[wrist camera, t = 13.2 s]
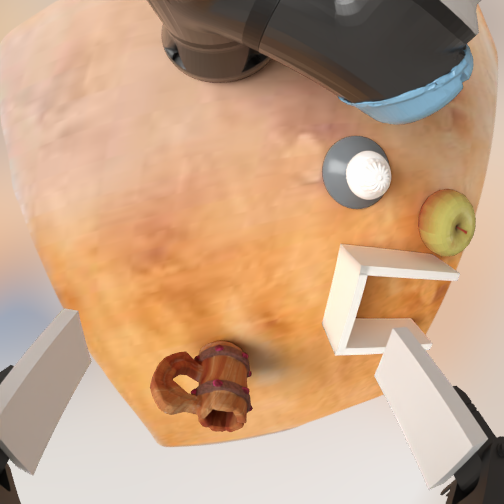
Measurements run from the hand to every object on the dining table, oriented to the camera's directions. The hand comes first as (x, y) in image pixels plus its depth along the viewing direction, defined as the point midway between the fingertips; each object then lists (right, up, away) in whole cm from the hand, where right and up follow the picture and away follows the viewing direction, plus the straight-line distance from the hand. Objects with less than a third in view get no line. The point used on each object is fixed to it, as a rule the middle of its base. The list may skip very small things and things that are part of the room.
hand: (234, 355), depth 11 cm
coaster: (+15, +15, +26) cm, 33 cm away
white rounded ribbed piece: (+15, +15, +25) cm, 33 cm away
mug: (-6, -12, +35) cm, 37 cm away
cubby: (+21, -2, +32) cm, 38 cm away
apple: (+29, +10, +28) cm, 42 cm away
